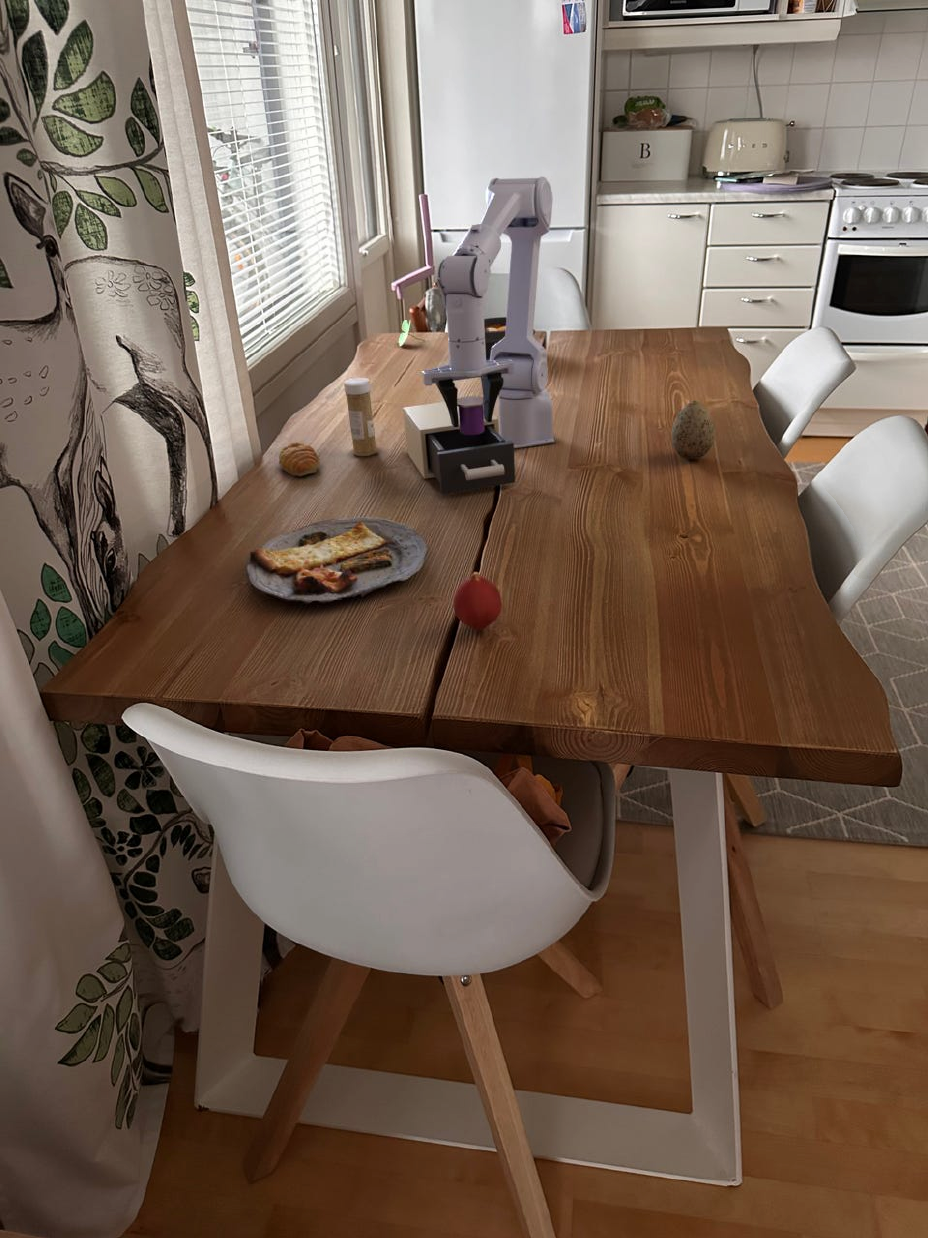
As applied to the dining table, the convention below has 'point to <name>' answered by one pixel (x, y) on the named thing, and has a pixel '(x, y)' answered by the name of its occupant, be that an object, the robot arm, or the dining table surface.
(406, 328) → the seedling
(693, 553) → the dining table surface
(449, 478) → the pod drawer
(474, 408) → the coffee pod
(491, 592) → the onion
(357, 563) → the food plate
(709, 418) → the decorative egg
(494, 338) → the casserole
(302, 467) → the pastry
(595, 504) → the dining table surface
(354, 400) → the sprinkles bottle
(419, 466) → the mini desk drawer box
